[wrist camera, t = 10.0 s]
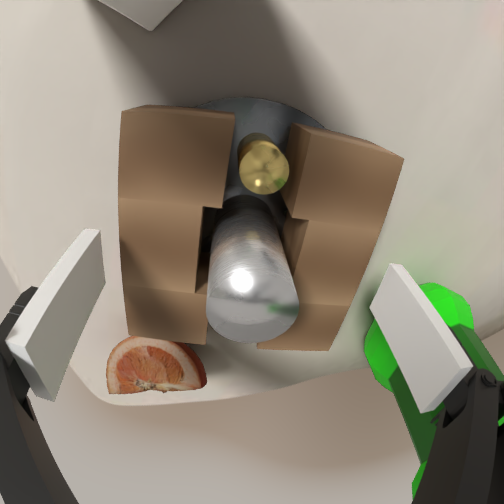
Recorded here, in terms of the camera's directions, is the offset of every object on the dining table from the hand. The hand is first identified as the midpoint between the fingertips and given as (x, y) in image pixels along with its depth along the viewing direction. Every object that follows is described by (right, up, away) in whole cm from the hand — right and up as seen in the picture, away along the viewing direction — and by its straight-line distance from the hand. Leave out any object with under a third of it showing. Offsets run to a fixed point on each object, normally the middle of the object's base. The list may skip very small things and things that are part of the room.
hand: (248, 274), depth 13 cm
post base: (0, +3, +6) cm, 7 cm away
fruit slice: (-8, -7, +11) cm, 16 cm away
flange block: (0, +3, +4) cm, 5 cm away
